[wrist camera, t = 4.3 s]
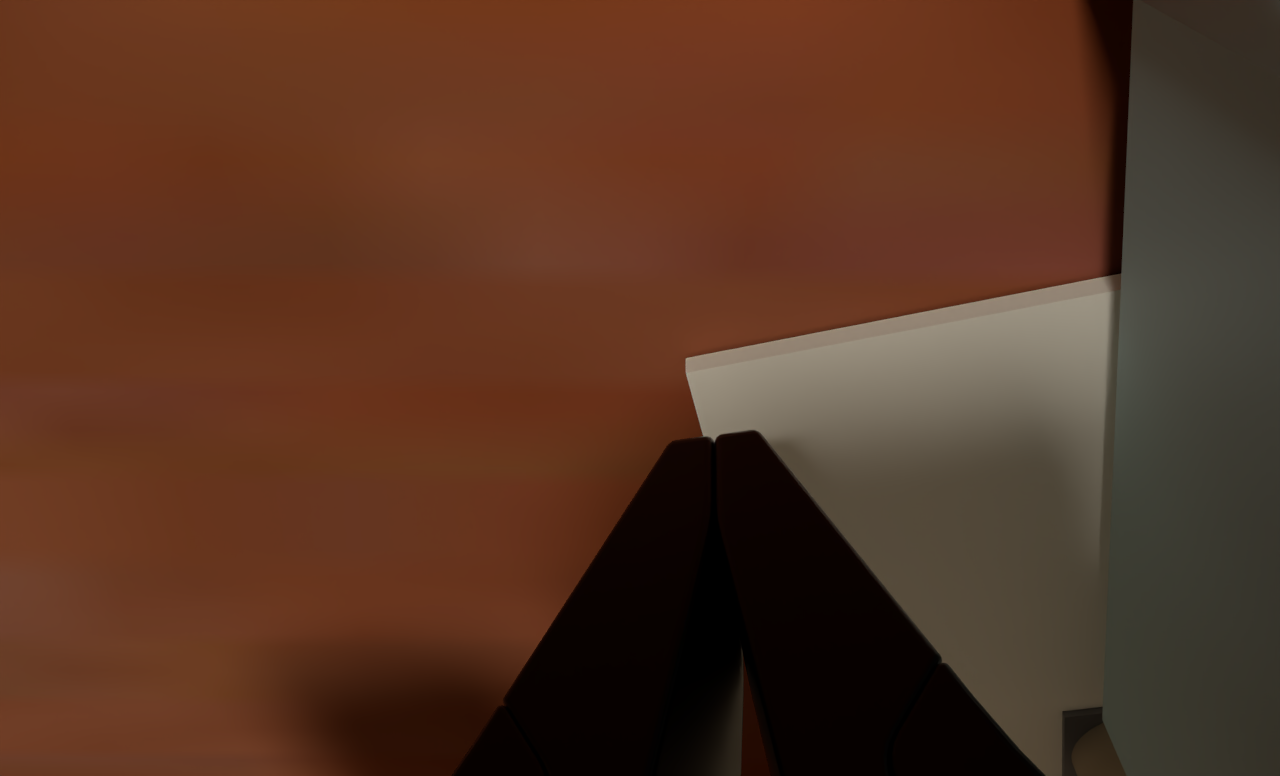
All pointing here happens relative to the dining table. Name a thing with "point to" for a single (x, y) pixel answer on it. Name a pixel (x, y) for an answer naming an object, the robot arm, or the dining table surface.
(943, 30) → the dining table surface
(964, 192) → the dining table surface
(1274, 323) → the fence flap
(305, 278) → the dining table surface
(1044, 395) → the card
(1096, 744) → the fence fixed
